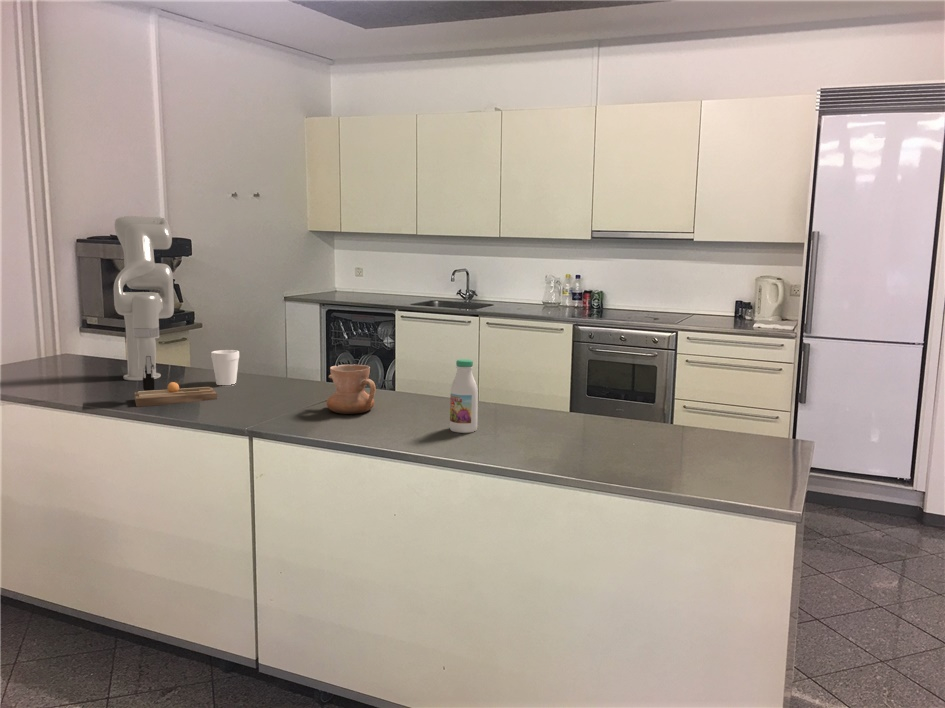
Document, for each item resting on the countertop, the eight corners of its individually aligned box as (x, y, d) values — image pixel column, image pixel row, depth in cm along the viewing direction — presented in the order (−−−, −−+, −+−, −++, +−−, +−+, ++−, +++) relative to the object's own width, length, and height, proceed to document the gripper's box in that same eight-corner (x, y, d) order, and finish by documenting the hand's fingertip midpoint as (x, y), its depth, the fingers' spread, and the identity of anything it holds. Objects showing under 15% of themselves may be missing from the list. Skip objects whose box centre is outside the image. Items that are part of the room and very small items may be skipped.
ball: (174, 379, 235) (181, 388, 236) (174, 380, 239) (181, 389, 239) (165, 386, 234) (171, 395, 234) (164, 386, 237) (171, 395, 238)
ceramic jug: (313, 412, 223) (313, 367, 222) (347, 405, 235) (346, 361, 233) (356, 421, 213) (356, 373, 211) (389, 412, 225) (389, 367, 223)
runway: (134, 399, 238) (134, 390, 237) (212, 394, 248) (211, 385, 248) (136, 406, 227) (136, 397, 227) (217, 400, 238) (216, 391, 237)
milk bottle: (461, 425, 210) (463, 357, 207) (482, 430, 205) (484, 360, 202) (444, 430, 204) (445, 360, 201) (465, 435, 199) (466, 363, 196)
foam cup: (206, 388, 259) (205, 352, 257) (226, 384, 267) (225, 349, 265) (226, 391, 255) (225, 354, 253) (245, 386, 263) (244, 351, 261)
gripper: (132, 331, 236) (135, 386, 239) (134, 336, 223) (137, 395, 225) (157, 330, 239) (159, 384, 242) (161, 335, 226) (163, 393, 229)
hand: (148, 389), depth 234 cm, fingers closed
